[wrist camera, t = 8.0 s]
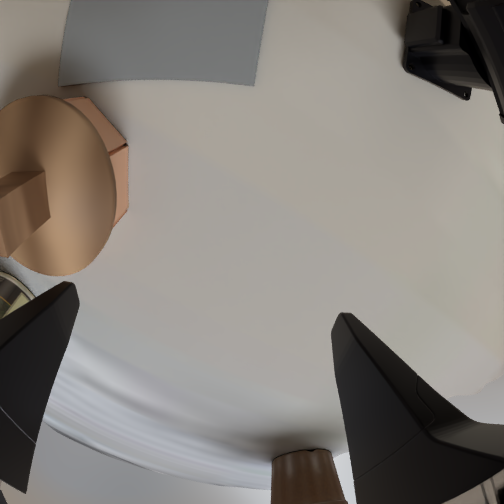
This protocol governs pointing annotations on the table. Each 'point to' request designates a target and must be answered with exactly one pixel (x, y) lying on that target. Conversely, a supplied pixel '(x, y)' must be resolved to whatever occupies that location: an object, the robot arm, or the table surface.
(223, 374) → the table surface
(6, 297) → the coffee can
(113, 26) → the mat
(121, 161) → the bowl
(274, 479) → the plant pot
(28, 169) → the lid
